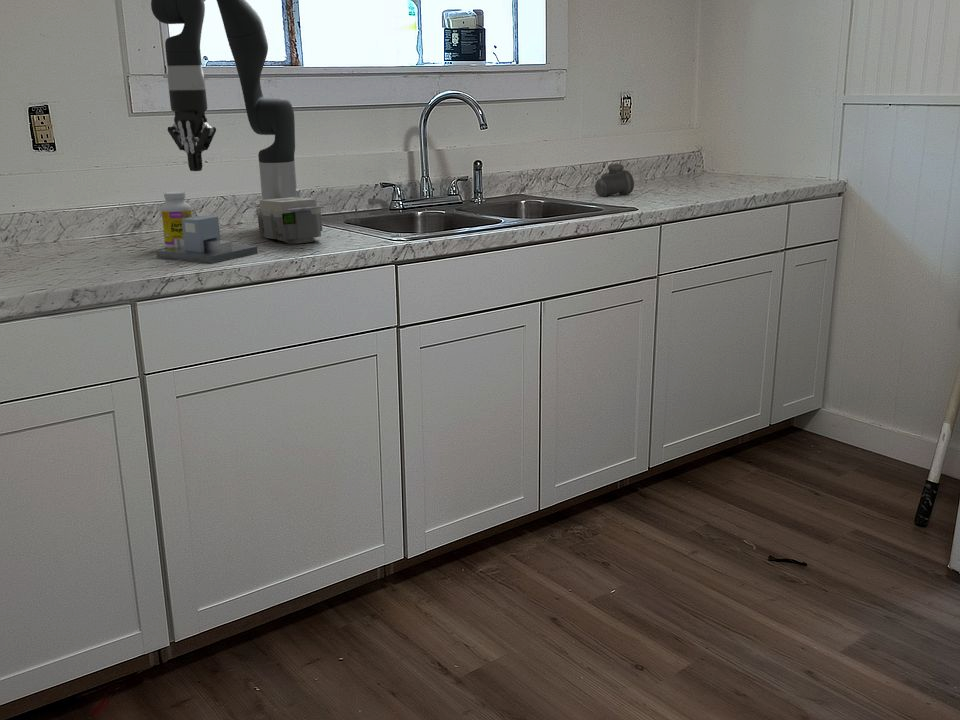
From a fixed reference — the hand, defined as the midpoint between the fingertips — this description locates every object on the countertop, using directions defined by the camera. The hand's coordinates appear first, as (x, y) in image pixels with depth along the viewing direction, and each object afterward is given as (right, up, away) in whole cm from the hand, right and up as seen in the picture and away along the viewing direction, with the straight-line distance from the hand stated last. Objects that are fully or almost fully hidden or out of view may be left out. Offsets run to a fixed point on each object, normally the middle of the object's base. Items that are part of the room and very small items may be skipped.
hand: (195, 170), depth 201 cm
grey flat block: (+1, -18, +6) cm, 19 cm away
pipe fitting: (+106, +12, +102) cm, 147 cm away
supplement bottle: (-9, -15, +17) cm, 25 cm away
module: (0, -17, +5) cm, 17 cm away
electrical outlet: (+15, -12, +27) cm, 33 cm away
